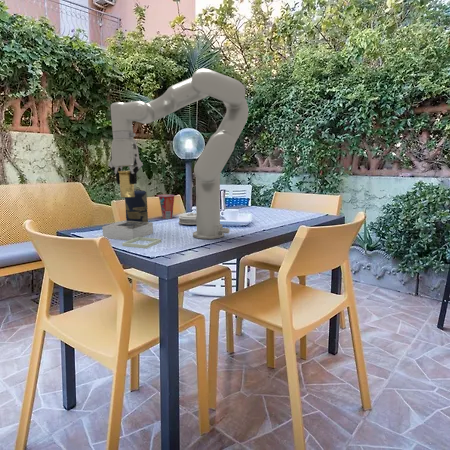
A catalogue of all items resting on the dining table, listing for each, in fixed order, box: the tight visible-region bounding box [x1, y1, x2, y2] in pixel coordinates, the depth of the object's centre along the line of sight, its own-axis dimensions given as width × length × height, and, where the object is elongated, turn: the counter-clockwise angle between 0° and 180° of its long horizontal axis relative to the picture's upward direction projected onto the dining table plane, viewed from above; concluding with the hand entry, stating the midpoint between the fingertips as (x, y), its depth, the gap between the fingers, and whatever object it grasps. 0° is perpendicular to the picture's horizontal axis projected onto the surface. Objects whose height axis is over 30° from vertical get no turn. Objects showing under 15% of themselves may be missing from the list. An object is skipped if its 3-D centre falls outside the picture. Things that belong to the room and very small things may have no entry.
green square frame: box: [121, 237, 162, 249], centre depth 129 cm, size 10×10×2 cm
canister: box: [124, 188, 149, 222], centre depth 157 cm, size 10×10×18 cm
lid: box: [178, 212, 197, 225], centre depth 169 cm, size 13×13×5 cm
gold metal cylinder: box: [118, 170, 135, 198], centre depth 138 cm, size 6×6×10 cm
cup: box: [157, 194, 176, 220], centre depth 183 cm, size 9×8×12 cm
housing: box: [102, 220, 154, 241], centre depth 142 cm, size 14×14×5 cm
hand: (126, 183), depth 138 cm, fingers closed on gold metal cylinder, 5 cm apart
